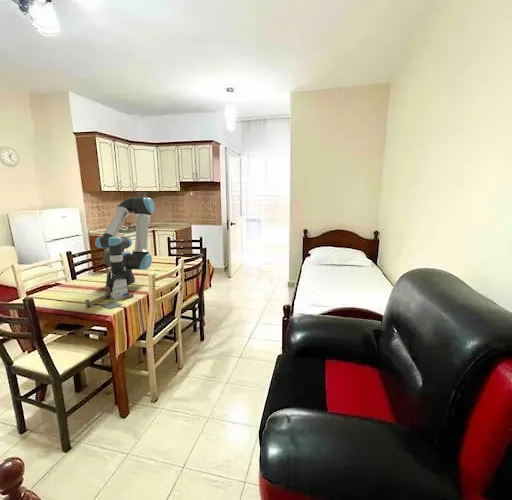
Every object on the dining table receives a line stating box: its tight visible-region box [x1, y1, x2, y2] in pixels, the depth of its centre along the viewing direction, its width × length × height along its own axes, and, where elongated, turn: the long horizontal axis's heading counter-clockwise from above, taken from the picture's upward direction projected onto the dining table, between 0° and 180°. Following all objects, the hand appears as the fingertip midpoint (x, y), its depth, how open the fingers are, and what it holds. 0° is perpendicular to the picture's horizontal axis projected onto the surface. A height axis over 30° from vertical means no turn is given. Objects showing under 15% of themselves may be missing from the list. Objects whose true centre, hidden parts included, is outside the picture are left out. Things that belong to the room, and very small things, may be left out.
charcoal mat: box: [100, 301, 123, 310], centre depth 186 cm, size 8×9×1 cm
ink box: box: [111, 279, 128, 300], centre depth 198 cm, size 8×5×12 cm, turn 142°
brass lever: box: [84, 290, 110, 309], centre depth 189 cm, size 3×19×4 cm, turn 166°
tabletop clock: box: [102, 248, 111, 270], centre depth 264 cm, size 14×9×25 cm, turn 145°
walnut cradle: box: [104, 290, 135, 302], centre depth 198 cm, size 13×14×5 cm
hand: (119, 294), depth 199 cm, fingers closed on ink box, 9 cm apart
